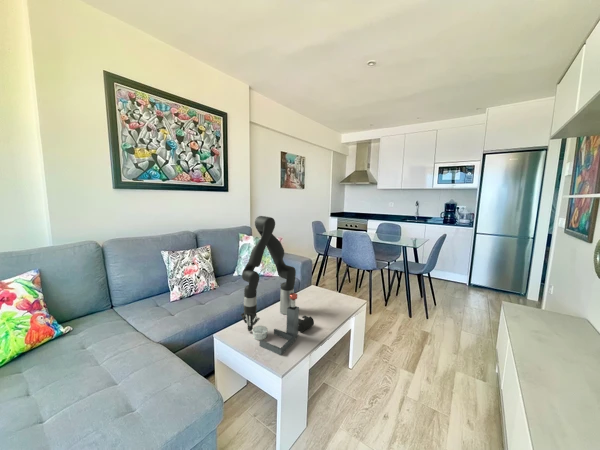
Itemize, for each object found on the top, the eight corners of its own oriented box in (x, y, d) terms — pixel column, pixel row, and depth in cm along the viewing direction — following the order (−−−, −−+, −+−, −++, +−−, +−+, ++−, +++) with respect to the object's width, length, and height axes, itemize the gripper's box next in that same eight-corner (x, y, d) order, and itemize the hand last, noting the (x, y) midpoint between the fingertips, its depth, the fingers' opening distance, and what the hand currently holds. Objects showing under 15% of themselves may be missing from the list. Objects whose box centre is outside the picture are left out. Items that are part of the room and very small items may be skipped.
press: (279, 329, 149) (280, 301, 147) (299, 336, 142) (300, 307, 140) (259, 345, 133) (259, 315, 130) (281, 355, 126) (281, 322, 123)
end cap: (303, 334, 145) (303, 324, 144) (294, 329, 150) (295, 319, 149) (313, 328, 152) (314, 318, 151) (305, 323, 157) (305, 313, 156)
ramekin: (249, 337, 140) (249, 330, 139) (259, 330, 148) (259, 323, 147) (260, 342, 135) (260, 335, 135) (270, 335, 143) (270, 328, 142)
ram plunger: (291, 310, 143) (292, 292, 141) (298, 312, 141) (298, 294, 139) (287, 313, 139) (288, 294, 138) (294, 315, 137) (294, 296, 136)
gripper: (263, 303, 143) (262, 331, 145) (246, 298, 149) (246, 324, 152) (254, 308, 136) (254, 337, 139) (237, 302, 143) (237, 330, 145)
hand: (250, 330), depth 145 cm, fingers closed
